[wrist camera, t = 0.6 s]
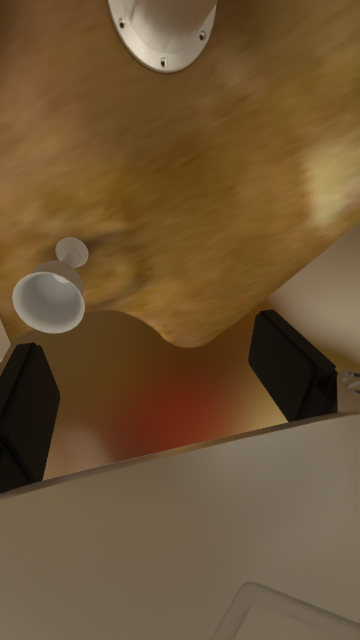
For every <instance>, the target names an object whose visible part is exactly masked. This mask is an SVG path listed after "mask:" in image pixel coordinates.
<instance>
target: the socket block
mask: <svg viewBox="0 0 360 640" xmlns="http://www.w3.org/2000/svg"><path fill="white" fill-rule="evenodd" d="M10 345H11V344H10V341H9V339H8V336H7V334H6V331H5V329H4V326H3V324H2V322H1V319H0V362H2V360H3V358H4V356H5V354H6V352H7V351H8V349H9V347H10Z"/></svg>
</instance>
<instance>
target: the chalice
mask: <svg viewBox="0 0 360 640" xmlns="http://www.w3.org/2000/svg"><path fill="white" fill-rule="evenodd" d="M55 250H56V255H57V258H58V259H59V260H60V261H48V262H44V263H42V264H40V265H39V266H37V267H36V268H35V270H34V271H33V272H32V274H29V275H27V276H25V277H24V278H22V279H21V280H20V281H19V282H18V283H17V285H16V287H15V288H14V291H13V298H12V299H13V304H14V308H15V310H16V312H17V313H18V315H19V317H20V318H21V319H22V320H23V321H24V322H25V323H27V324H28V325H29V326H31V327H33V328H35V329H37V330H39V331H43V332H46V333H62V332H66V331H69V330H71V329H72V328H74V327H75V326H77V325H78V323H79V322H80V321H81V319H82V318H83V314H84V311H85V308H84V300H83V298H82V297H83V292H84V285H83V281H82V279H81V276H80V275H79V274H78V272H77V271H76V270H75V268H77V267H81V266H82V265H84V264H85V263H86V262H87V260H88V257H89V255H88V249H87V247H86V246H85V244H84V243H83V242H82V241H80V240H79V239H76V238H74V237H66V238H63V239H61V240H60V241H59V242H58V243H57V245H56V249H55Z"/></svg>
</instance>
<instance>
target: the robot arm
mask: <svg viewBox="0 0 360 640" xmlns="http://www.w3.org/2000/svg"><path fill="white" fill-rule="evenodd" d="M107 2H108V7H109V12H110V15H111V18H112V21H113V24H114V27H115V29H116V31H117V33H118V35H119V37H120V39H121V41H122V43H123V44H124V46H125V47H126V49H127V50H128V52H129V53H130V54H131V55H132V56H133V57H134V58H135V59H136V60H137V61H138V62H139V63H141V64H142V65H143V66H145V67H146V68H148V69H150V70H152V71H155V72H159V73H164V74H166V73H175V72H178V71H181V70H183V69H184V68H186V67H187V66H189V65H190V64H191V63H192V62H193V61H194V60H195V59H196V58H197V57H198V56H199V54H200V53H201V52H202V50H203V49H204V47H205V45H206V43H207V41H208V39H209V37H210V34H211V31H212V28H213V24H214V19H215V14H216V5H217V2H218V0H107ZM120 24H123V25H124V28H123V29H121V28H120ZM199 36H201V37H202V41H201V40H200V38H199ZM161 62H163V63H164V67H162V66H161ZM248 360H249V365H250V366H251V368H252V369H253V371H254V372H255V374H256V375H257V377H258V378H259V380H260V381H261V383H262V384H263V385H264V387H265V388H266V390H267V391H268V393H269V394H270V396H271V397H272V399H273V400H274V402H275V403H276V404H277V406H278V407H279V409H280V410H281V412H282V413H283V415H284V416H285V417H286V419H287V421H288V423H284V424H279V425H275V426H271V427H266V428H262V429H257V430H253V431H249V432H244V433H240V434H235V435H231V436H227V437H222V438H218V439H214V440H210V441H206V442H201V443H197V444H193V445H188V446H184V447H180V448H175V449H171V450H167V451H163V452H159V453H154V454H150V455H146V456H142V457H138V458H133V459H129V460H125V461H121V462H116V463H112V464H108V465H104V466H100V467H96V468H92V469H87V470H83V471H80V472H76V473H71V474H68V475H64V476H60V477H56V478H52V479H48V480H44V481H42V479H43V475H44V471H45V466H46V462H47V457H48V453H49V448H50V443H51V439H52V434H53V429H54V425H55V420H56V416H57V411H58V406H59V402H60V393H59V390H58V387H57V385H56V382H55V380H54V377H53V375H52V372H51V369H50V367H49V364H48V362H47V359H46V357H45V354H44V352H43V349H42V347H41V346H40V345H38V346H37V345H36V344H35V343H26V344H19V345H17V346H16V348H15V349H14V351H13V353H12V355H11V357H10V359H9V361H8V363H7V365H6V367H5V369H4V370H3V372H2V374H1V376H0V640H360V371H356V370H342V371H340V372H339V373H338V372H337V371H336V370H335V367H336V366H335V365H334V364H333V363H332V362H331V361H330V360H329V359H327V358H326V357H325V356H324V355H323V354H322V353H321V352H320V351H319V350H318V349H317V348H315V347H314V346H313V345H312V344H311V343H310V342H309V341H308V340H307V339H305V338H304V337H303V336H302V335H301V334H300V333H299V332H298V331H297V330H295V329H294V328H293V327H292V326H291V325H290V324H289V323H288V322H287V321H285V320H284V319H283V318H282V317H281V316H280V315H279V314H278V313H277V312H275V311H274V310H265V311H260V313H259V314H258V315H256V318H255V324H254V329H253V335H252V341H251V346H250V352H249V358H248Z"/></svg>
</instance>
